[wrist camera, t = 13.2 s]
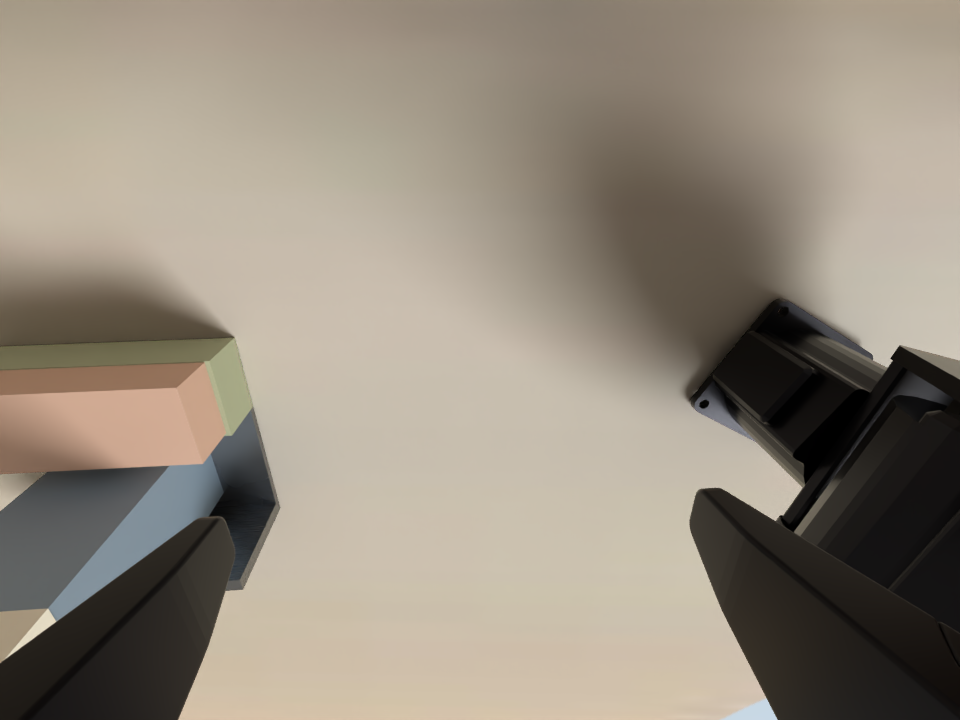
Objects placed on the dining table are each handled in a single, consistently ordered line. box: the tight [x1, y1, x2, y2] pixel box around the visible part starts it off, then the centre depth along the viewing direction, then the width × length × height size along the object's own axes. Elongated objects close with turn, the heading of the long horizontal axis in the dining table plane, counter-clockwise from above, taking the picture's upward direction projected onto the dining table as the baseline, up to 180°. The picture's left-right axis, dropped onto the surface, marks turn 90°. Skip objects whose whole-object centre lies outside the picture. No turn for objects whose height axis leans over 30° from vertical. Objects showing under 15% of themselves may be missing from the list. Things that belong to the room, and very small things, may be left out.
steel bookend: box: [209, 407, 280, 591], centre depth 21 cm, size 10×6×5 cm, turn 91°
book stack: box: [0, 338, 253, 474], centre depth 19 cm, size 10×4×4 cm, turn 91°
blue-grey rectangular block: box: [0, 454, 224, 662], centre depth 17 cm, size 5×4×12 cm
